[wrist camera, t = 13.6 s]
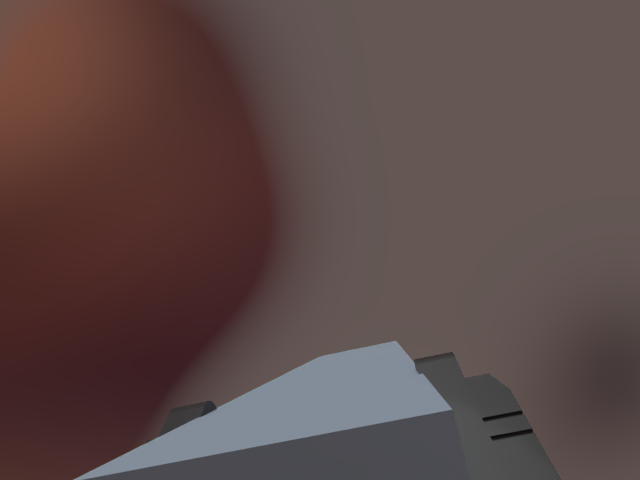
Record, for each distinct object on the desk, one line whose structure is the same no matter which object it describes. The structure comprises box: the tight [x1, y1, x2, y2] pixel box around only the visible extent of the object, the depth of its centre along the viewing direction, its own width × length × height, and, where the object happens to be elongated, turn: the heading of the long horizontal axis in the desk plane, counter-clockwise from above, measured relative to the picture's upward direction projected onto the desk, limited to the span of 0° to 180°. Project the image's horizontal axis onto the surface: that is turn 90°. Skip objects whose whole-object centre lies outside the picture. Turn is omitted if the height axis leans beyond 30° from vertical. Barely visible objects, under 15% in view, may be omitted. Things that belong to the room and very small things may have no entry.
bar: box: [74, 341, 469, 480], centre depth 15 cm, size 4×22×4 cm, turn 173°
